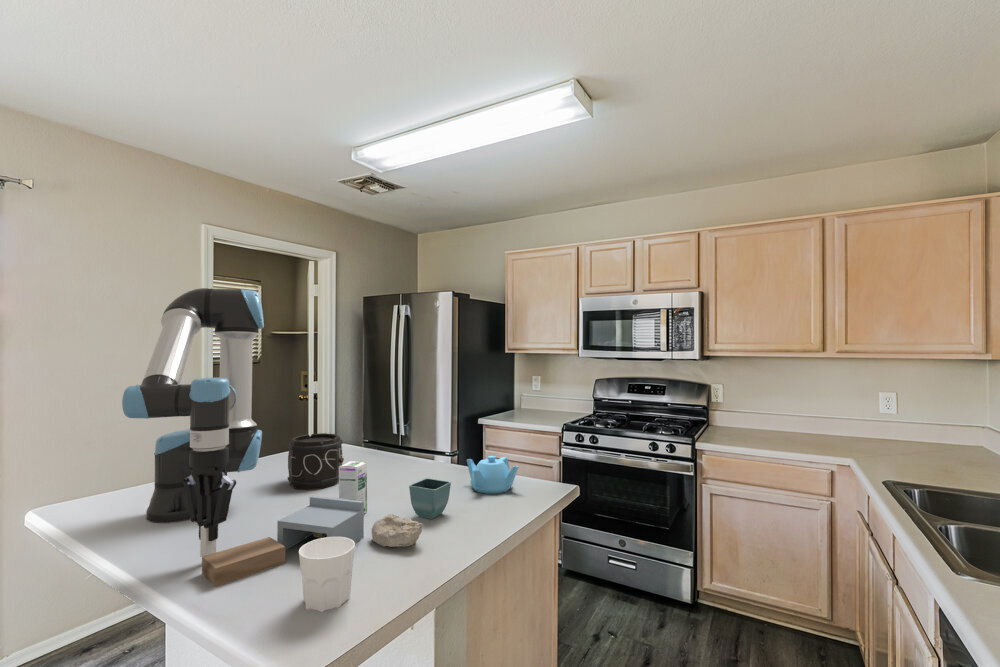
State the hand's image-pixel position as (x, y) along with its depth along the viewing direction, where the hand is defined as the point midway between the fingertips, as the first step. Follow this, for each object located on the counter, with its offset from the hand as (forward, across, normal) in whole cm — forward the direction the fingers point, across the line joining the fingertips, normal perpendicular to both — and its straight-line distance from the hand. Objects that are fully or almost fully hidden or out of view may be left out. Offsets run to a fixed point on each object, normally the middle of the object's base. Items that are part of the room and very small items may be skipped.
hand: (208, 554), depth 108 cm
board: (+2, +10, 0) cm, 10 cm away
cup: (+2, +35, -6) cm, 35 cm away
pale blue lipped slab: (+2, +18, +15) cm, 23 cm away
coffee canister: (+2, -16, +59) cm, 61 cm away
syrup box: (+2, +14, +35) cm, 38 cm away
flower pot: (+2, +35, +41) cm, 54 cm away
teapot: (+2, +44, +70) cm, 83 cm away
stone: (+2, +35, +21) cm, 40 cm away
